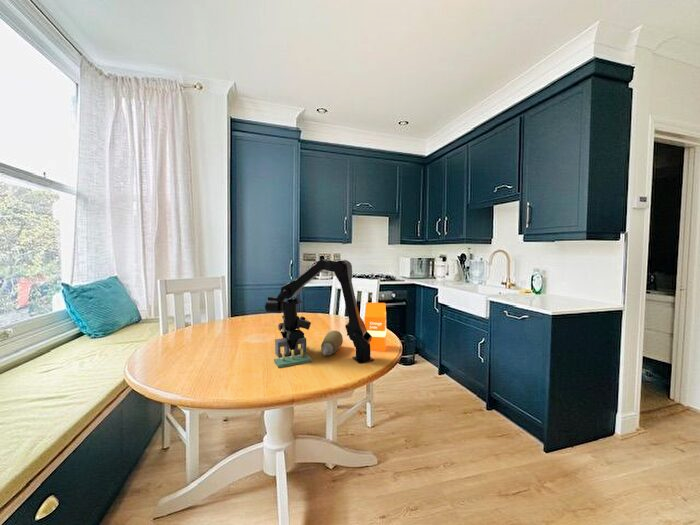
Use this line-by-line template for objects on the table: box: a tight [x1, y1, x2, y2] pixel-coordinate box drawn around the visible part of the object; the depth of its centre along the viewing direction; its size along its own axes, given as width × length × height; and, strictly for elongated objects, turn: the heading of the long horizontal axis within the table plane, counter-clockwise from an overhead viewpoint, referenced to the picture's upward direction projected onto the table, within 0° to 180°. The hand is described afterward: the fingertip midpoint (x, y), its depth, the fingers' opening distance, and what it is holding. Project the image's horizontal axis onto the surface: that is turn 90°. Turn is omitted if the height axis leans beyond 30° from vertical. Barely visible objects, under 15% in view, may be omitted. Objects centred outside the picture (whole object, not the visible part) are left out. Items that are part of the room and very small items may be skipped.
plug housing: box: [274, 336, 308, 358], centre depth 126 cm, size 12×5×6 cm, turn 117°
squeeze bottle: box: [320, 330, 344, 356], centre depth 125 cm, size 8×8×18 cm
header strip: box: [273, 347, 313, 369], centre depth 116 cm, size 13×7×4 cm, turn 117°
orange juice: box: [364, 302, 387, 352], centre depth 131 cm, size 8×9×20 cm
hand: (290, 350), depth 126 cm, fingers closed on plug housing, 5 cm apart
